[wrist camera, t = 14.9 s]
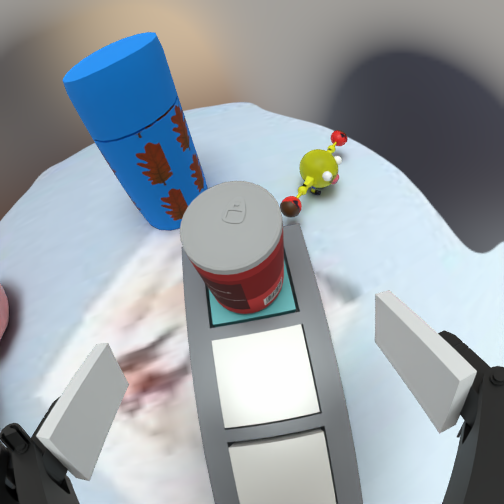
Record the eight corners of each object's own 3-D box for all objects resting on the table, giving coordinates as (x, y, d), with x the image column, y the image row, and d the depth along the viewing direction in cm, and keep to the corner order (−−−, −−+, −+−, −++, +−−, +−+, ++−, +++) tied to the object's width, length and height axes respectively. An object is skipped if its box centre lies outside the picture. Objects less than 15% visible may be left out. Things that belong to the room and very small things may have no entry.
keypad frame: (228, 514, 21) (221, 527, 17) (191, 262, 36) (181, 246, 33) (354, 493, 21) (363, 504, 17) (298, 241, 36) (299, 223, 33)
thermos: (217, 175, 43) (174, 24, 22) (200, 233, 38) (126, 64, 17) (156, 176, 45) (96, 47, 23) (134, 229, 40) (42, 94, 18)
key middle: (231, 424, 25) (224, 428, 22) (219, 346, 29) (211, 340, 26) (315, 409, 25) (319, 411, 22) (299, 332, 29) (300, 324, 26)
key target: (220, 332, 31) (212, 324, 28) (211, 265, 35) (204, 252, 32) (294, 318, 31) (295, 309, 28) (279, 252, 35) (278, 237, 32)
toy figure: (306, 243, 36) (309, 211, 30) (269, 225, 38) (265, 192, 32) (355, 160, 42) (362, 128, 36) (325, 148, 44) (328, 115, 38)
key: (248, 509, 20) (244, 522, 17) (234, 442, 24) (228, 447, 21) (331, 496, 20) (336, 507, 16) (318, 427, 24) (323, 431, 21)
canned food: (280, 244, 32) (277, 175, 22) (287, 313, 28) (288, 266, 18) (213, 250, 32) (184, 185, 23) (211, 318, 28) (173, 274, 19)
